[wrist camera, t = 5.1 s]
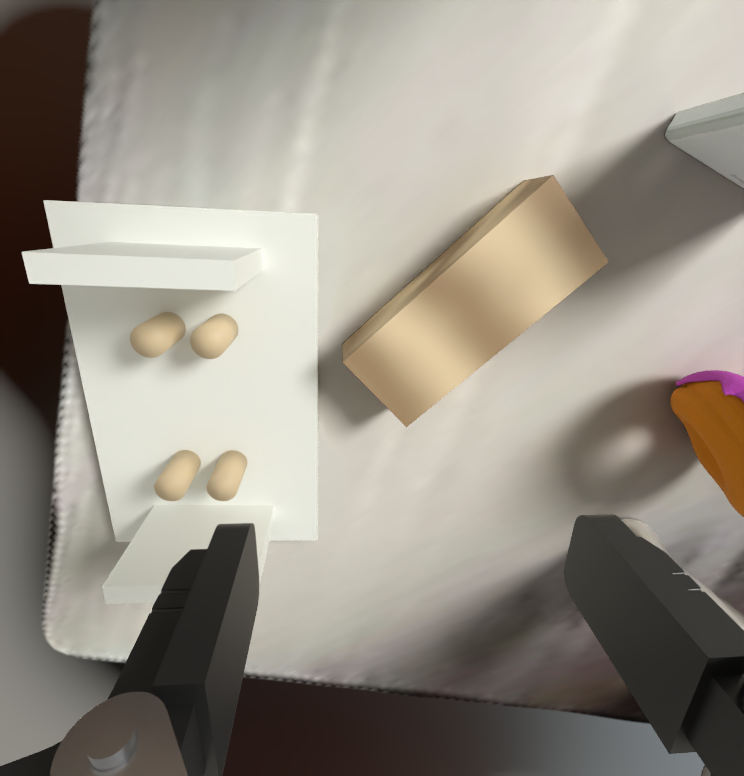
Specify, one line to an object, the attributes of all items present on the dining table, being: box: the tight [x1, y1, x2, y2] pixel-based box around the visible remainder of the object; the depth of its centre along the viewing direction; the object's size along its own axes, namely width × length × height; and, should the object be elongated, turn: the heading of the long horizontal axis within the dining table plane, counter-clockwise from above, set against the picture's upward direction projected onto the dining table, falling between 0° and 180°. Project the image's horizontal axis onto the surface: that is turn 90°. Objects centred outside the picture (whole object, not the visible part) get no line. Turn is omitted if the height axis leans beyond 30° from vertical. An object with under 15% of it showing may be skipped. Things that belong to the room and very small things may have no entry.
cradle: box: [22, 200, 318, 604], centre depth 24 cm, size 22×14×8 cm, turn 177°
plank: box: [342, 175, 609, 427], centre depth 25 cm, size 14×6×4 cm, turn 132°
